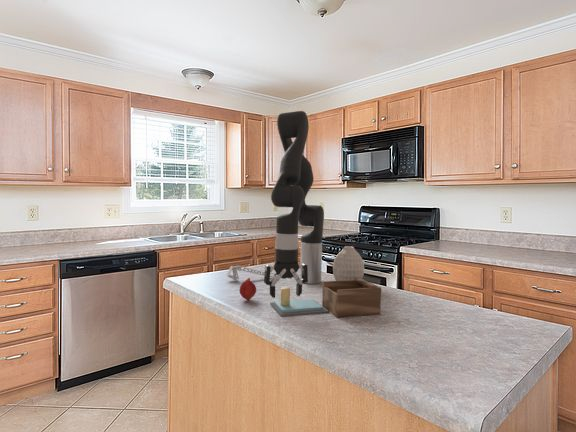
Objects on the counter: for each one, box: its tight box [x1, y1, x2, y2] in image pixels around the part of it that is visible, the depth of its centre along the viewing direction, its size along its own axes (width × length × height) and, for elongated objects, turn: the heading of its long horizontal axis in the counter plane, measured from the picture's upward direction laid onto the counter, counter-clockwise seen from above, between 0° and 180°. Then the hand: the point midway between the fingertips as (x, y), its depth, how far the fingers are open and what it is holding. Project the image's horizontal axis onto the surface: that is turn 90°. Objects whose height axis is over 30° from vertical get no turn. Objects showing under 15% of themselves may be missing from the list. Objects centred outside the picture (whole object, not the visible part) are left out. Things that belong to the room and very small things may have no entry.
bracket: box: [226, 265, 274, 282], centre depth 163 cm, size 3×21×10 cm, turn 112°
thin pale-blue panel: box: [273, 286, 323, 313], centre depth 122 cm, size 10×14×6 cm
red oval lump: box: [239, 277, 257, 301], centre depth 130 cm, size 6×6×8 cm
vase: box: [332, 245, 365, 281], centre depth 152 cm, size 13×13×17 cm
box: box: [321, 277, 382, 319], centre depth 121 cm, size 12×15×9 cm
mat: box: [269, 299, 330, 317], centre depth 122 cm, size 13×16×1 cm
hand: (285, 296), depth 120 cm, fingers open, 8 cm apart
